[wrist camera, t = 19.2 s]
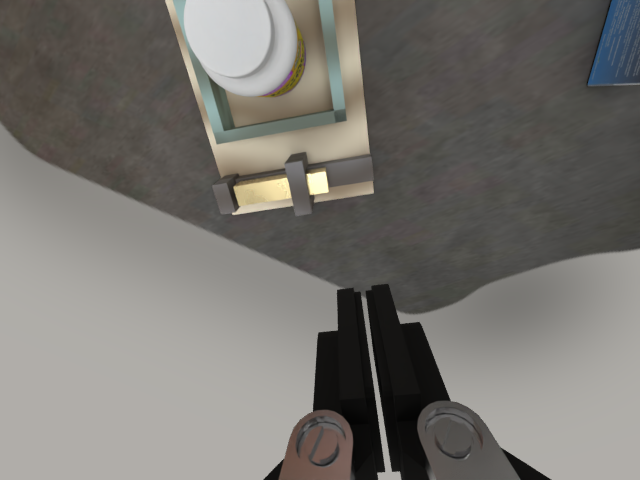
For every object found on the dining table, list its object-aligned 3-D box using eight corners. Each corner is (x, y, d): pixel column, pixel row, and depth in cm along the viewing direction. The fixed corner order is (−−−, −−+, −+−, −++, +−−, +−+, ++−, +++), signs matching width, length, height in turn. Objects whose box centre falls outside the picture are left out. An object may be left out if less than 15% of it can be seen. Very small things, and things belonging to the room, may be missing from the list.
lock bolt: (238, 181, 31) (233, 186, 29) (325, 167, 30) (325, 171, 28) (244, 199, 32) (239, 206, 30) (329, 186, 31) (328, 192, 29)
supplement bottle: (282, 112, 29) (248, 122, 18) (222, 66, 28) (143, 46, 16) (322, 46, 27) (313, 9, 15) (259, -8, 26) (196, -94, 14)
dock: (171, 3, 27) (130, -21, 22) (349, -39, 25) (353, -77, 20) (235, 211, 35) (218, 232, 30) (372, 190, 34) (380, 208, 28)
